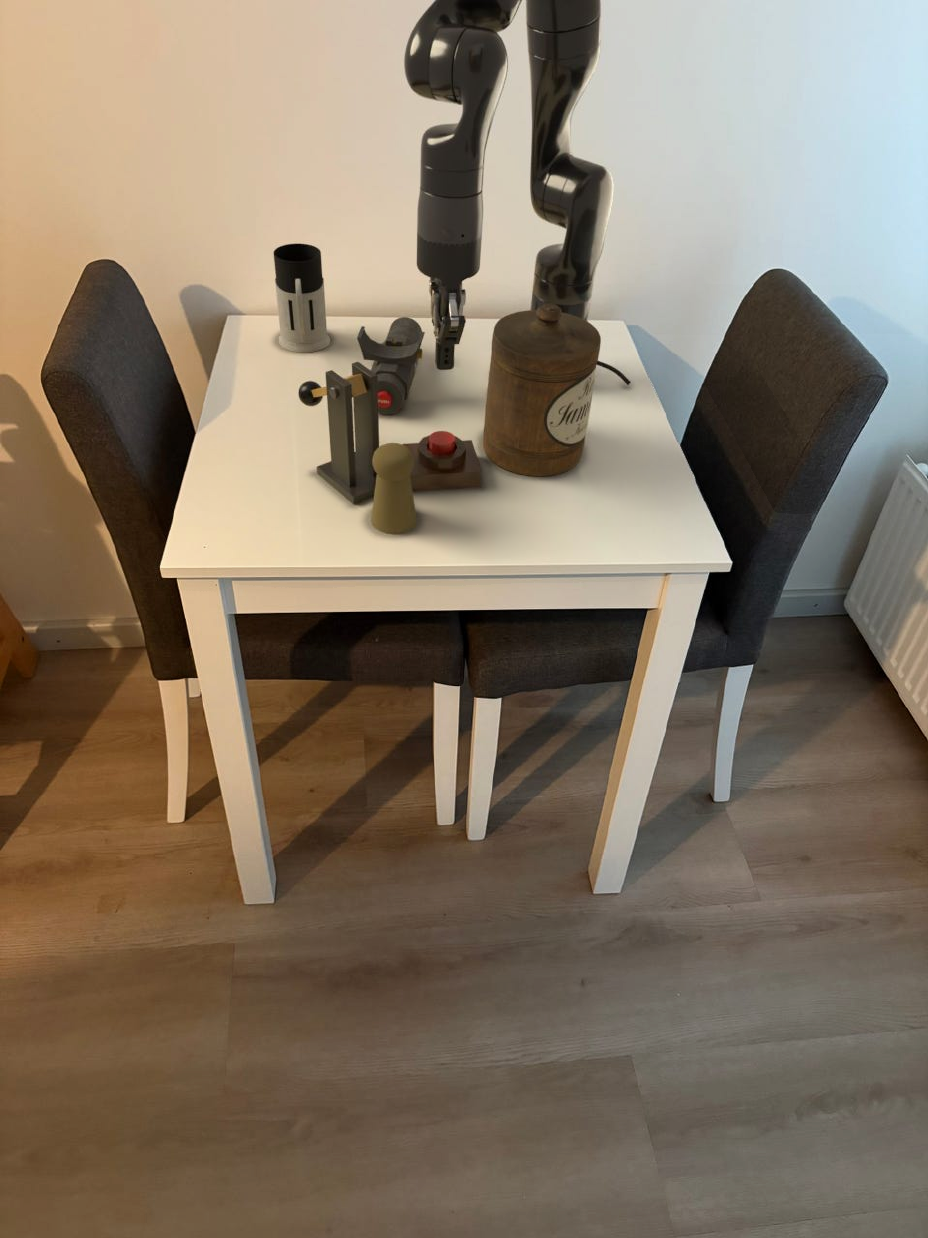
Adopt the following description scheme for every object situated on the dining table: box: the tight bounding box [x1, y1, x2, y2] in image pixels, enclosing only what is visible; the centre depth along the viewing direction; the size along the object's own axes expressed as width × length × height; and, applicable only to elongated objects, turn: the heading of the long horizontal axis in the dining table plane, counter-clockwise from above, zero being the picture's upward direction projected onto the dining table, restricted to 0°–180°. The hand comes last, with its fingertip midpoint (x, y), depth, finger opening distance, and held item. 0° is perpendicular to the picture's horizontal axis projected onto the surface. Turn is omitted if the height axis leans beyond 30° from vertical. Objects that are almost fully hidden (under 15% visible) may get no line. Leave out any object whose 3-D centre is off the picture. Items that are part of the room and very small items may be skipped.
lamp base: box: [402, 434, 483, 492], centre depth 124 cm, size 10×8×4 cm
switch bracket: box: [316, 361, 380, 505], centre depth 118 cm, size 9×7×16 cm
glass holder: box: [272, 243, 331, 353], centre depth 145 cm, size 9×14×15 cm, turn 8°
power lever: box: [297, 374, 367, 407], centre depth 118 cm, size 15×3×3 cm, turn 39°
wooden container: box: [482, 303, 602, 477], centre depth 124 cm, size 15×15×22 cm
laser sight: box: [356, 316, 426, 416], centre depth 140 cm, size 10×22×10 cm, turn 174°
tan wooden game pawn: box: [370, 442, 418, 535], centre depth 114 cm, size 6×6×11 cm
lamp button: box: [428, 430, 456, 455], centre depth 122 cm, size 4×4×2 cm
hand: (444, 366), depth 114 cm, fingers closed
